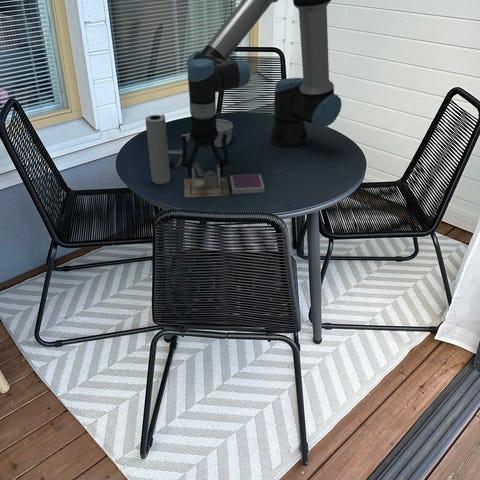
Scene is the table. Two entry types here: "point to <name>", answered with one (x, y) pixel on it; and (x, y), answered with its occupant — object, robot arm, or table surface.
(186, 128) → the table surface
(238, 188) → the ink pad
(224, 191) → the marked board
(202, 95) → the robot arm
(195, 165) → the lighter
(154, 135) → the paper towel roll
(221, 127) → the ramekin
